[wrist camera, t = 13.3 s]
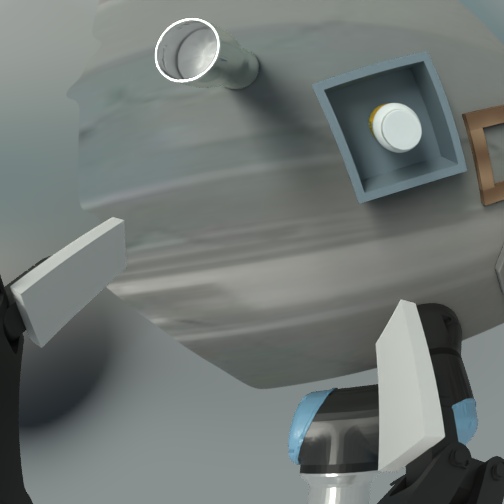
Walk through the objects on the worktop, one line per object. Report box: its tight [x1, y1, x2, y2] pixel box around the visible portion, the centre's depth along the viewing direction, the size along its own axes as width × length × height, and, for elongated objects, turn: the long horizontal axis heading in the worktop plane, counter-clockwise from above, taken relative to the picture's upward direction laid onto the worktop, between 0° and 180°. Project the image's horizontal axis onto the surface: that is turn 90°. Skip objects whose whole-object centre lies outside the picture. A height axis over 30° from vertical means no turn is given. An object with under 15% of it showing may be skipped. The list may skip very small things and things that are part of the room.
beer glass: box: [155, 18, 259, 89], centre depth 27 cm, size 7×7×15 cm
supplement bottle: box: [368, 103, 422, 153], centre depth 27 cm, size 5×5×10 cm
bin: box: [312, 51, 467, 204], centre depth 29 cm, size 14×14×7 cm
